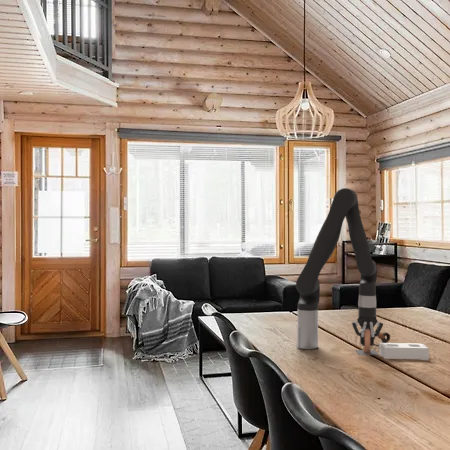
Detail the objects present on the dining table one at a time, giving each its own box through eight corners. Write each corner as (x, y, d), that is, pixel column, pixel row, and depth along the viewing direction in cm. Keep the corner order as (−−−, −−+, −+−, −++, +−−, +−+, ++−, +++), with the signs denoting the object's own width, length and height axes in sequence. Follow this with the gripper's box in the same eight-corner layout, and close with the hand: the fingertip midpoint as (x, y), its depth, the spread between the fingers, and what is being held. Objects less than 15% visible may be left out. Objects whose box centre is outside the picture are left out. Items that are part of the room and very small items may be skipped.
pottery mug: (377, 351, 243) (368, 333, 246) (367, 355, 252) (359, 339, 254) (398, 342, 248) (389, 325, 251) (387, 347, 256) (379, 330, 259)
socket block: (384, 359, 225) (384, 347, 225) (379, 354, 234) (379, 342, 234) (428, 360, 225) (428, 348, 225) (421, 355, 234) (421, 343, 234)
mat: (358, 355, 232) (358, 354, 232) (354, 350, 241) (354, 349, 241) (379, 356, 231) (379, 355, 231) (374, 351, 240) (374, 350, 240)
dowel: (364, 353, 235) (364, 330, 235) (362, 351, 238) (362, 328, 238) (371, 353, 235) (371, 330, 235) (369, 351, 238) (369, 328, 238)
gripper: (352, 306, 233) (352, 347, 233) (385, 307, 232) (385, 347, 232) (349, 304, 240) (349, 343, 240) (381, 304, 240) (381, 343, 240)
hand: (367, 345), depth 236 cm, fingers closed on dowel, 3 cm apart
